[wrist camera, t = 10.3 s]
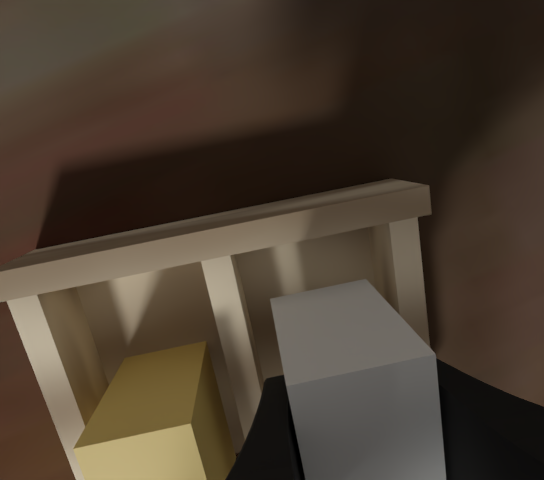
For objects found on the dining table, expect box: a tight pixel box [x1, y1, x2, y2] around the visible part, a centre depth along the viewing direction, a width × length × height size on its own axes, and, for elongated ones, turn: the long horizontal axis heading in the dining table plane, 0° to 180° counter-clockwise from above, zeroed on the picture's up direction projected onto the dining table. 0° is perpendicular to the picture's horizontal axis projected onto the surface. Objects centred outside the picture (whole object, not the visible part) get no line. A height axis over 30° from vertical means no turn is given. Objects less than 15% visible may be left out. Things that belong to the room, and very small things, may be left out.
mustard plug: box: [73, 341, 236, 480], centre depth 14 cm, size 8×4×5 cm, turn 11°
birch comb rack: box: [0, 178, 432, 480], centre depth 15 cm, size 11×15×3 cm
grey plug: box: [270, 279, 446, 480], centre depth 12 cm, size 8×4×5 cm, turn 11°
